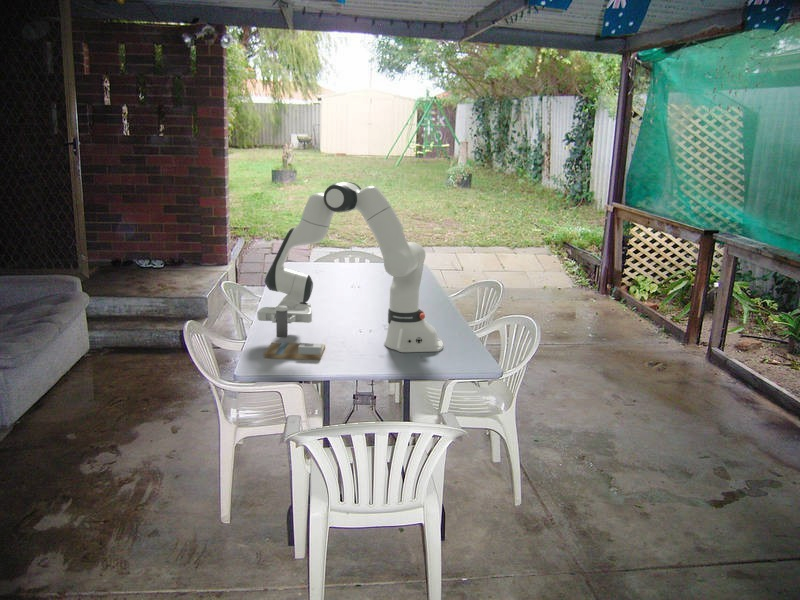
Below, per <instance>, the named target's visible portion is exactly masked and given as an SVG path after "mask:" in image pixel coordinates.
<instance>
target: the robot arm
mask: <svg viewBox="0 0 800 600" xmlns="http://www.w3.org/2000/svg"><path fill="white" fill-rule="evenodd" d="M355 210H357V211H358V212H359V213H360V214H361V215H362V217H363V219H364V220H365V222H366V224H367V225H368V227H369V229H370V231H371V233H372V234H373V237H374V238H375V240H376V242H377V244H378V246H379V247H378V248H379V250H380V252H381V256H382V258H383V267H384V270H385V272H386V273H387V274H388V275H389V276H391V277H393V278H392V282H391V284H390V289H389V308H388V312H387V323H388V326H387V333H386V337H385V341H384V346H385V347H386V348H388V349H391V350H395V351H397V352H400V353H426V352H429V353H430V352H431V353H432V352H440V351H442V350H443V348H444V343H443V341H442V339H440V338H439V337H438V332H437V330H436V328H435V327H434V326H433V325H432V324H430V323H429V322H428V321H427V320H426V319H425V318H426V314H425V313H424V311H423V309H420V308H419V305H420V304H419V302H420V290H421V289H420V288H421V281H422V276H423V271H424V264H425V260H426V251H425V249H424V247H423V246H422V245H421V244H420V243H418V242H414V241H407V239H406V235H405V233H404V230H403V229H404V228H403V224H402V222H401V219H400V218H399V217H398V215H397V213H396V212H395V210H394V208H393V206H392V205H391V203H390V202H389V201H388V199H387V197H386V196H385V195H384V193H382V191H381V190H380V189H379V188H378V186H374V185H368V186H365V187H363V188H361V187H360V185H358V184H356V183H355V182H347V181H341V182H335V183H332V184H330V185H329V186H328V187H327V188H326V189H325V191H324V193H323V192H315V193H314V192H313V194H311V195H310V196H309V197H308V200H307V201H306V204H305V206H304V209H303V212H302V216H301V218H300V220H299V223H298V224H297V225H296V226H295V227H292V228H290V229H289V230H288V232H287V233H286V235H285V237H284V239H283V240H282V243H281V245H280V247H279V249H278V251H277V252H276V256H275V257H274V260H273V262H272V263H271V266H270V267H269V269H268V270H267V271H266V273H265V277H264V284H265V285H266V288H267V289H268V290H269V291H273V292H276V293H277V292H279V293H282V294H285V296H284V297H283V298H282V300H280V302H279V304H278V305H277V306H287V307H288V310H287V323H288V324H292V323H306V324H309V323H312V321H313V309H312V305H311V303H307V302H308V301H309V300H310V298H311V295H312V292H313V287H314V282H313V279H312V277H311V275H309V274H307V273H303V272H301V271H296V270H294V269H290V268H286V267H285V266H284V264H285V262H286V261H287V259H288V256H289V254H290V252H291V250H292V248H295V247H297V246H298V247H299V246H307V245H315V244H319V243H320V242H322V241H323V240H325V238H326V236H327V235H328V232H329V230H330V225H331V221H332V218H333V217H334V214H336V213H347V212H348V213H349V212H351V211H355ZM277 306H275V307H274V306H265V307H261V308H260V309H258V310H257V314H256V315H257V316H256V317H257V321H261V322H271V324H272V323H274V324H275V323H276V307H277Z"/></svg>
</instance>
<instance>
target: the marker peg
mask: <svg viewBox="0 0 800 600" xmlns="http://www.w3.org/2000/svg"><path fill="white" fill-rule="evenodd" d="M275 307H276V328H275V329H276V338H279V339H280V338H281V339H282V338H284V339H285V338H287V337H289V336H288V333H289V332H288V329H289V327H288V324H289V323H287V310H288V307H287V306H278V305H277V306H275Z"/></svg>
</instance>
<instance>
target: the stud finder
mask: <svg viewBox="0 0 800 600" xmlns="http://www.w3.org/2000/svg"><path fill="white" fill-rule="evenodd" d="M322 344H323V343H314V342H313V343H312V342H310V343H308V342H300V345H299V346H298V354H305V355H321V353H322Z"/></svg>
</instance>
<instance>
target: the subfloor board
mask: <svg viewBox="0 0 800 600" xmlns="http://www.w3.org/2000/svg"><path fill="white" fill-rule="evenodd" d="M300 343H301V342H300ZM300 343H299V342H298V343H295V342H294V343H293V342H292V343H291V342H271V344H269V346H268V348H267V349H266V351H265V353H264V358H265V359H285V360H286V359H288V360H289V359H290V360H311V361H312V360H315V361H317V360H319V361H321V359H322V357H323V354H324V352H325V351H326V344H324V343H321V344H322V353H321V355H305V354H298V346H299V345H300Z"/></svg>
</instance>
